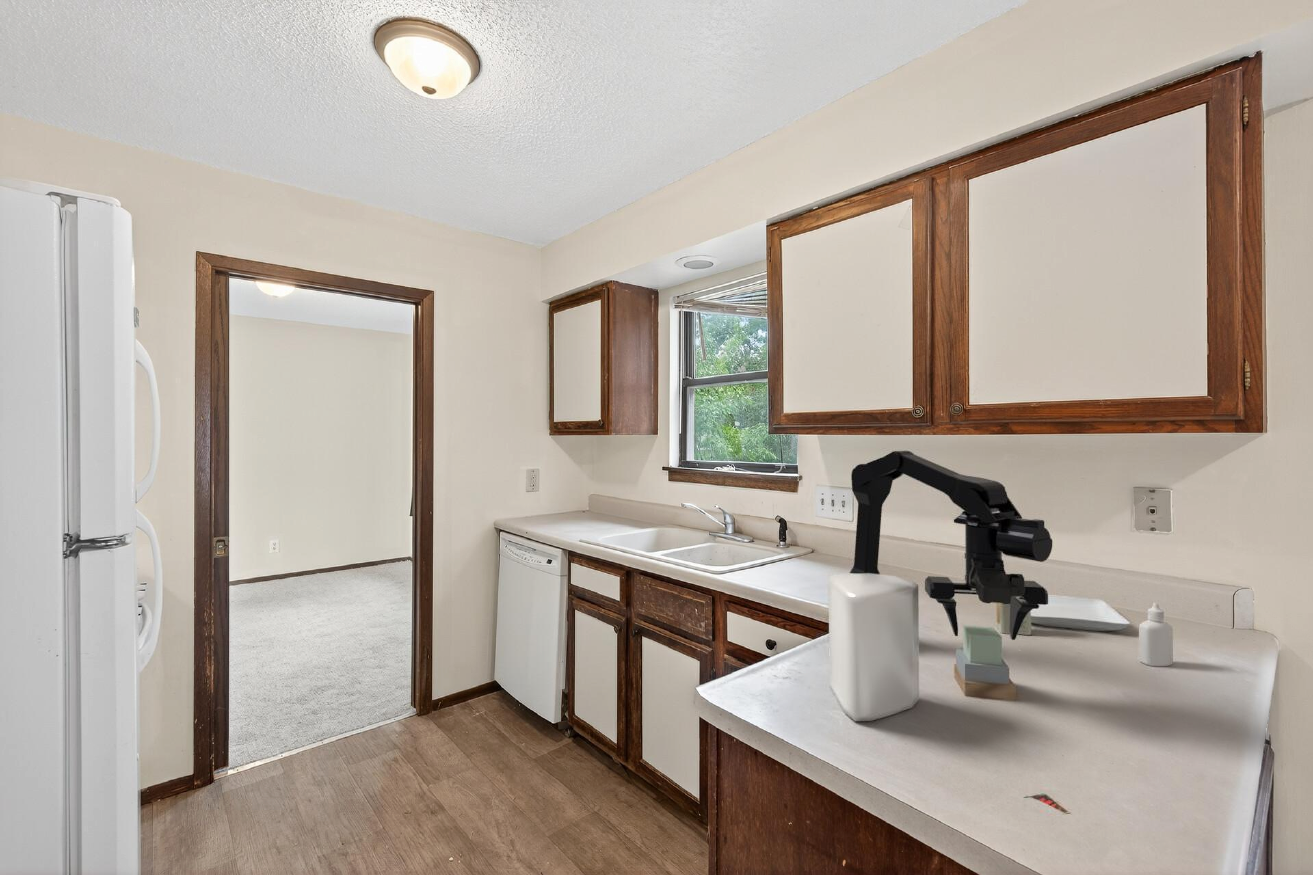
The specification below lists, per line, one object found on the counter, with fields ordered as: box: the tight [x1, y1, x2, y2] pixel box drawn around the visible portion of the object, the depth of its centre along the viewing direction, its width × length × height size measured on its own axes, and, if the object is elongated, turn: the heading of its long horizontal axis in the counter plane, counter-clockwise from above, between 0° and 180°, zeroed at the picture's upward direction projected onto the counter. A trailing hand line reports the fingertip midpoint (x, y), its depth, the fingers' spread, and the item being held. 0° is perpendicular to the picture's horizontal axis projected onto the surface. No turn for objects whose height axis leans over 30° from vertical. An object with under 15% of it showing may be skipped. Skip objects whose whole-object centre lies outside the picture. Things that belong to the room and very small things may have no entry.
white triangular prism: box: [828, 572, 920, 722], centre depth 102 cm, size 15×14×22 cm
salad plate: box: [1031, 594, 1131, 632], centre depth 144 cm, size 21×21×3 cm
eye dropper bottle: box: [1138, 602, 1174, 667], centre depth 116 cm, size 4×6×12 cm
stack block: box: [962, 624, 1003, 665], centre depth 106 cm, size 5×5×5 cm
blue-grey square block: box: [955, 648, 1010, 685], centre depth 106 cm, size 7×7×3 cm
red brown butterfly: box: [1023, 793, 1071, 815], centre depth 73 cm, size 5×5×1 cm
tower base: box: [953, 663, 1017, 702], centre depth 106 cm, size 8×8×3 cm
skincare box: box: [996, 577, 1032, 636], centre depth 135 cm, size 6×4×12 cm
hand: (983, 637), depth 106 cm, fingers open, 9 cm apart
